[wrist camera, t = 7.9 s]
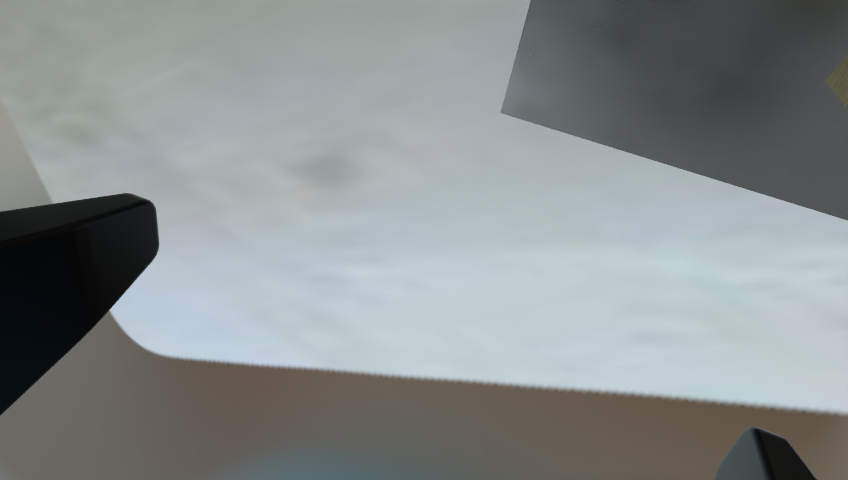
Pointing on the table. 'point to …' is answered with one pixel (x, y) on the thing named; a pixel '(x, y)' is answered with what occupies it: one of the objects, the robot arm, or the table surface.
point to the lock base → (696, 87)
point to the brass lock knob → (840, 81)
